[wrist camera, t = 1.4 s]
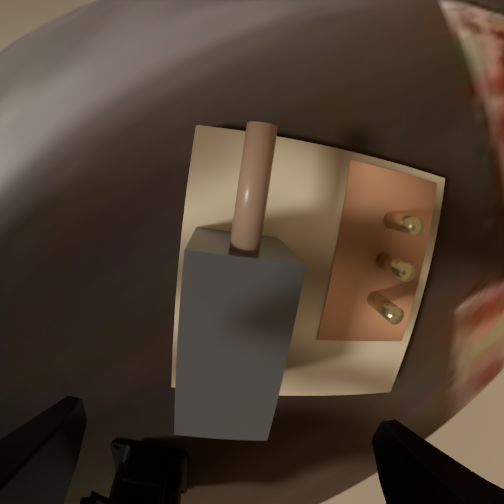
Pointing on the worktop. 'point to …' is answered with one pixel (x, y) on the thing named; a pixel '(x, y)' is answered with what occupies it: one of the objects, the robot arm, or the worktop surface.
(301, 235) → the birch board
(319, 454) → the worktop surface
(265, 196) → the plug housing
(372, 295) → the header pins
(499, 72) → the worktop surface
